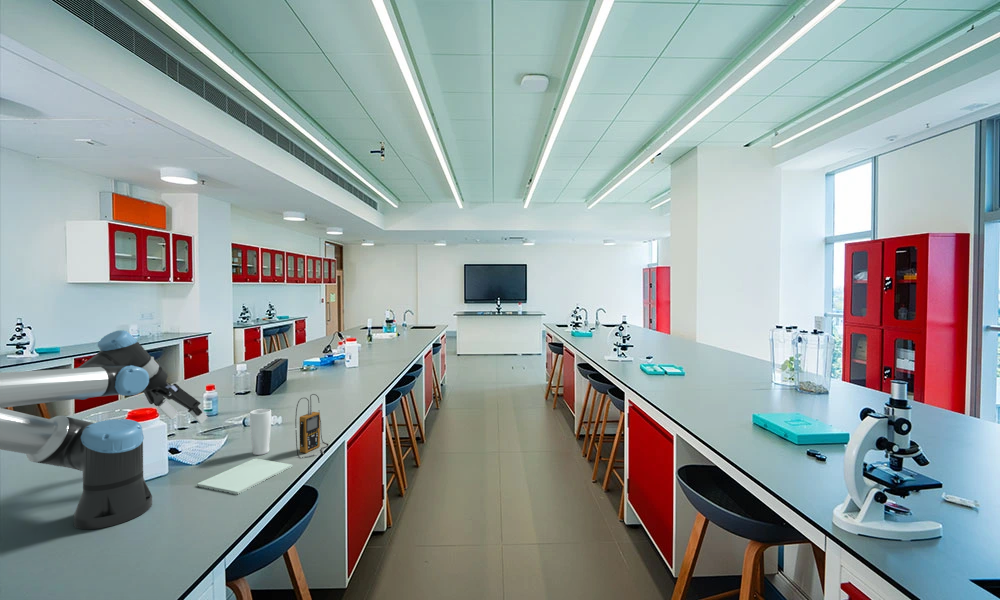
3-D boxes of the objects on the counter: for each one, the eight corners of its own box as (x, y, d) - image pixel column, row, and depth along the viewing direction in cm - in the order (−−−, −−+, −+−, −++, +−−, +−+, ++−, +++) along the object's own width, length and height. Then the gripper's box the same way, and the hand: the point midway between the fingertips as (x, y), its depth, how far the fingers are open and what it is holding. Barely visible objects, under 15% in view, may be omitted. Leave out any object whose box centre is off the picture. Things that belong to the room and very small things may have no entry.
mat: (237, 494, 121) (237, 491, 121) (197, 486, 126) (197, 483, 126) (292, 467, 140) (292, 464, 140) (255, 460, 145) (255, 458, 145)
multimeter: (314, 460, 146) (313, 402, 145) (291, 456, 149) (290, 400, 148) (343, 445, 159) (342, 392, 159) (321, 442, 163) (321, 390, 162)
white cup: (275, 449, 155) (275, 408, 155) (263, 456, 148) (263, 414, 148) (258, 448, 156) (258, 408, 156) (245, 455, 149) (245, 413, 149)
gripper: (186, 367, 129) (225, 412, 141) (130, 362, 136) (171, 405, 149) (165, 386, 123) (207, 431, 135) (108, 380, 131) (153, 423, 143)
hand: (189, 418), depth 142 cm, fingers open, 13 cm apart
